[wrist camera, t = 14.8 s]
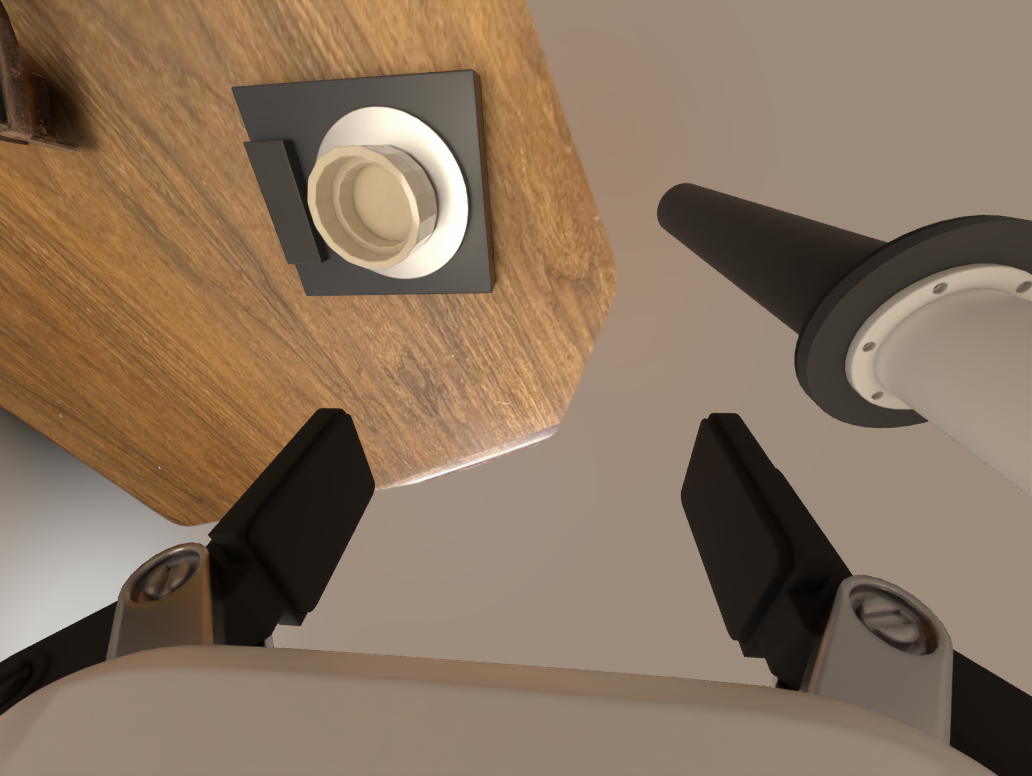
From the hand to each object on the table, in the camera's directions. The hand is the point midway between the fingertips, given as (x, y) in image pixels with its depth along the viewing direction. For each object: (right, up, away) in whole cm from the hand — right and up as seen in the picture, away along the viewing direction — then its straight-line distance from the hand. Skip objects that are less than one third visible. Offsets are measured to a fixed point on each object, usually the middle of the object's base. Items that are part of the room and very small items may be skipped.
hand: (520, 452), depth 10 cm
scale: (-10, +17, +19) cm, 27 cm away
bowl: (-9, +15, +16) cm, 24 cm away
